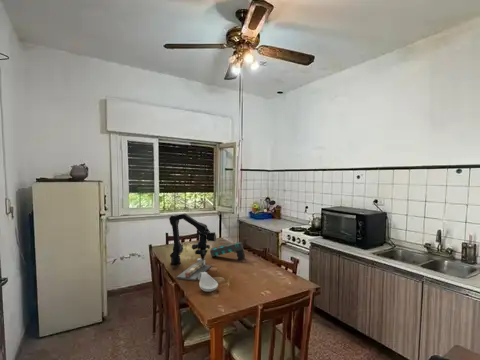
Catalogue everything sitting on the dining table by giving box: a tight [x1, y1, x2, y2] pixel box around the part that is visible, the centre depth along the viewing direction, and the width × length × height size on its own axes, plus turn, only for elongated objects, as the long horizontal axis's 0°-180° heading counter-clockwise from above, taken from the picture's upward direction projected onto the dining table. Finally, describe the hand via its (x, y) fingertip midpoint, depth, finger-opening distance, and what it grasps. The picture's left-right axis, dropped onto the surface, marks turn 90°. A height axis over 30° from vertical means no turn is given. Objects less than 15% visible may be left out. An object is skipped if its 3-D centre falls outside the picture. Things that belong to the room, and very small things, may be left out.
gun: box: [209, 241, 246, 261], centre depth 228 cm, size 7×29×15 cm, turn 75°
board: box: [176, 263, 212, 281], centre depth 194 cm, size 14×28×1 cm, turn 164°
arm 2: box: [187, 262, 203, 277], centre depth 191 cm, size 22×1×2 cm, turn 163°
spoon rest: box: [197, 271, 219, 293], centre depth 170 cm, size 24×12×7 cm, turn 25°
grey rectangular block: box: [196, 257, 206, 266], centre depth 204 cm, size 3×6×5 cm, turn 74°
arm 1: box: [185, 262, 201, 277], centre depth 192 cm, size 22×1×2 cm, turn 165°
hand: (202, 260), depth 207 cm, fingers closed
